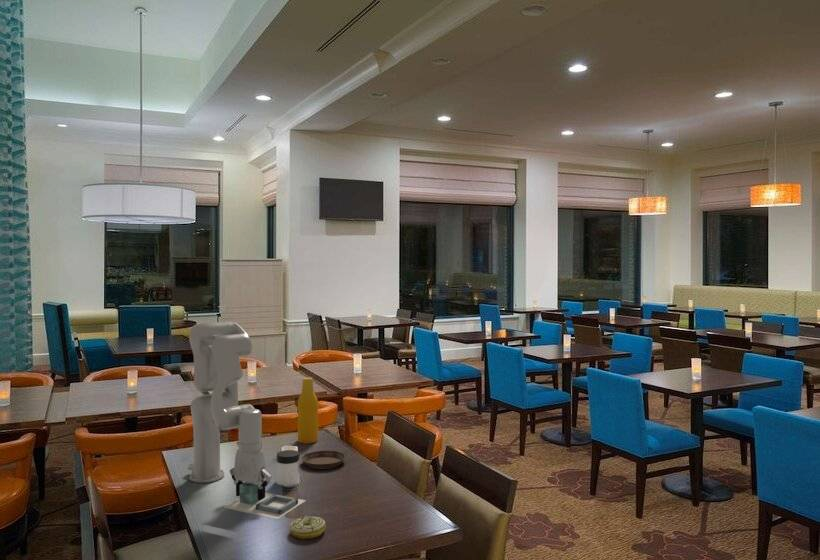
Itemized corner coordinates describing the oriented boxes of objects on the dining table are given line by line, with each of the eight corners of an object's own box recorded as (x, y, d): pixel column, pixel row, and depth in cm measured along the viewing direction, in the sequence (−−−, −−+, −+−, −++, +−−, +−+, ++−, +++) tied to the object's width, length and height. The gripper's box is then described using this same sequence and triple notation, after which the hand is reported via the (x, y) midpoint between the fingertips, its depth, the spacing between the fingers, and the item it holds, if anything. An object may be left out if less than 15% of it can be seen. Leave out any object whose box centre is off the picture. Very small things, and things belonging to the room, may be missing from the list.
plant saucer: (308, 456, 252) (308, 449, 252) (349, 457, 251) (349, 450, 251) (296, 470, 235) (296, 463, 235) (340, 472, 233) (340, 464, 233)
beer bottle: (307, 436, 280) (307, 375, 279) (322, 440, 274) (322, 377, 273) (293, 441, 272) (293, 378, 271) (307, 445, 267) (307, 381, 266)
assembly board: (222, 511, 195) (222, 502, 195) (253, 494, 210) (253, 486, 210) (277, 523, 187) (277, 514, 186) (306, 504, 201) (306, 496, 201)
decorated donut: (300, 523, 187) (300, 511, 187) (331, 528, 184) (331, 516, 184) (283, 537, 178) (283, 525, 177) (315, 543, 174) (315, 530, 174)
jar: (280, 491, 213) (280, 458, 212) (272, 484, 219) (272, 452, 219) (303, 486, 218) (303, 454, 217) (295, 479, 224) (295, 448, 224)
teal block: (239, 502, 199) (239, 484, 199) (249, 496, 204) (249, 479, 204) (251, 504, 197) (251, 487, 197) (261, 499, 202) (261, 481, 202)
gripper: (222, 446, 200) (222, 497, 201) (264, 452, 193) (264, 505, 194) (237, 440, 207) (237, 489, 208) (278, 446, 200) (278, 497, 200)
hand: (250, 496), depth 201 cm, fingers open, 8 cm apart
